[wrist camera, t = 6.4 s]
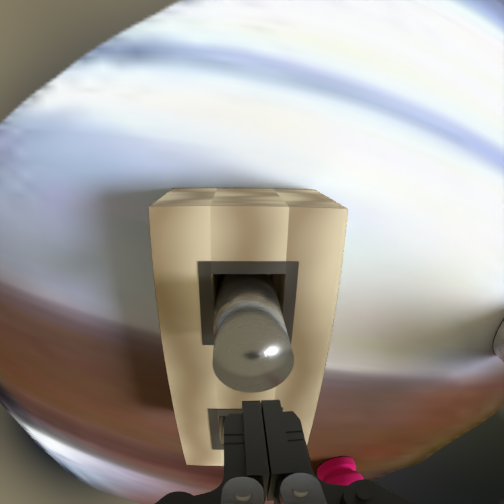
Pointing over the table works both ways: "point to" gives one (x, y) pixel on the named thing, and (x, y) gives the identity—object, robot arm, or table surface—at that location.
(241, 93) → the table surface
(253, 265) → the collar block
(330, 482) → the pepper mill
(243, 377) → the peg
